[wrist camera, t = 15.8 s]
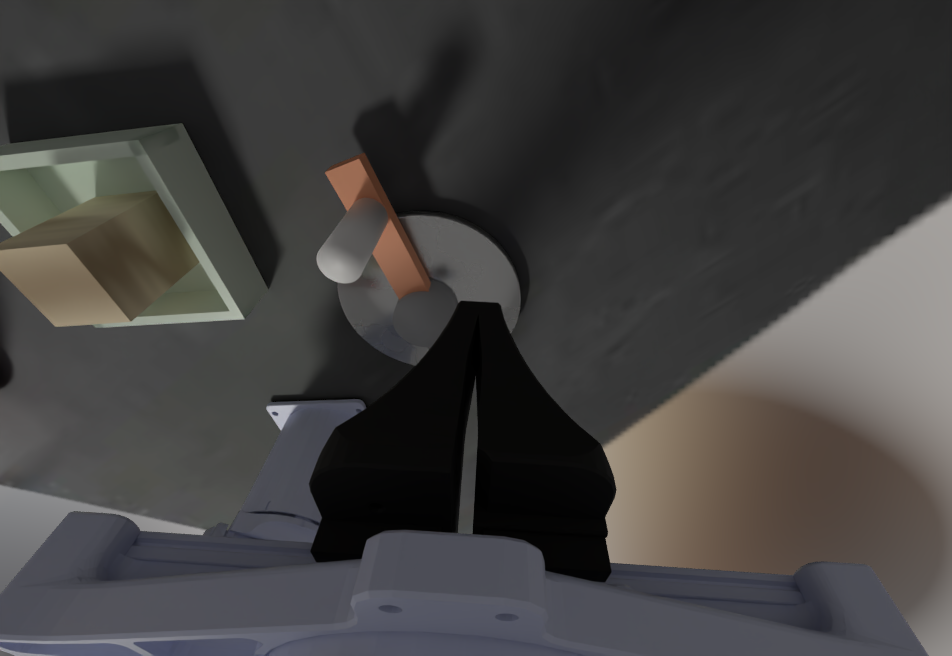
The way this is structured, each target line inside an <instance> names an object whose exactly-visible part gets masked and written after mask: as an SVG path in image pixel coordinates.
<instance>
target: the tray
mask: <svg viewBox="0 0 952 656" xmlns="http://www.w3.org/2000/svg"><path fill="white" fill-rule="evenodd" d="M147 191H156V192H157V193H158V195H159V196H160V198H161V200H162V201H163V203H164V205H165V206H166V208H167V209H168V211H169V213H170V214H171V216H172V218H173V219H174V221H175V223H176V224H177V226H178V227H179V229H180V231H181V232H182V234H183V236H184V237H185V239H186V240H187V242H188V244H189V245H190V247H191V249H192V250H193V252H194V254H195V255H196V257H197V258H198V260H199V263H198V264H197V265H196V266H195V267H194V268H193V269H191V270H190V271H189V272H188V273H187V274H186V275H184V276H183V277H182V278H181V279H180V280H179V281H178V282H176V283H175V284H174V285H173V286H172V287H171V288H169V289H168V290H167V291H166V292H165V293H164V294H162V295H161V296H160V297H159V298H158V299H157V300H156V301H154V302H153V303H152V304H151V305H150V306H149V307H147V308H146V309H145V310H144V311H143V312H142V313H140V314H139V315H138V316H137V317H136V318H135V319H134V320H132V321H131V322H121V323H106V324H92V325H93V326H94V327H95V328H103V327H120V326H136V325H153V324H170V323H187V322H204V321H221V320H238V319H245V318H246V317H247V316H248V314H249V313H250V312H251V311H252V310H253V308H254V307H255V306H256V305H257V303H258V302H259V301H260V300H261V298H262V297H263V296H264V295H265V293H266V292H267V291H268V288H267V286H266V284H265V282H264V280H263V278H262V276H261V274H260V272H259V271H258V269H257V267H256V265H255V263H254V261H253V259H252V257H251V255H250V253H249V251H248V249H247V247H246V245H245V243H244V241H243V240H242V238H241V236H240V234H239V232H238V230H237V228H236V226H235V224H234V222H233V220H232V218H231V216H230V214H229V212H228V211H227V209H226V207H225V205H224V203H223V201H222V199H221V197H220V195H219V193H218V191H217V189H216V187H215V185H214V183H213V182H212V180H211V178H210V176H209V174H208V172H207V170H206V168H205V166H204V164H203V162H202V160H201V158H200V156H199V154H198V152H197V151H196V149H195V147H194V145H193V143H192V141H191V139H190V137H189V135H188V133H187V131H186V129H185V127H184V125H183V123H179V124H170V125H162V126H153V127H145V128H137V129H128V130H120V131H111V132H103V133H94V134H86V135H78V136H69V137H61V138H52V139H44V140H35V141H27V142H19V143H10V144H6V145H3V146H0V223H1V224H2V225H3V226H4V227H5V229H6V230H7V231H8V232H9V233H10V234H11V235H12V236H13V237H14V236H16V235H18V234H20V233H22V232H24V231H26V230H28V229H30V228H32V227H34V226H36V225H38V224H41V223H43V222H45V221H47V220H49V219H51V218H53V217H55V216H57V215H59V214H61V213H63V212H65V211H67V210H70V209H72V208H74V207H76V206H78V205H80V204H82V203H84V202H86V201H88V200H90V199H92V198H94V197H101V196H110V195H119V194H128V193H138V192H147Z"/></svg>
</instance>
